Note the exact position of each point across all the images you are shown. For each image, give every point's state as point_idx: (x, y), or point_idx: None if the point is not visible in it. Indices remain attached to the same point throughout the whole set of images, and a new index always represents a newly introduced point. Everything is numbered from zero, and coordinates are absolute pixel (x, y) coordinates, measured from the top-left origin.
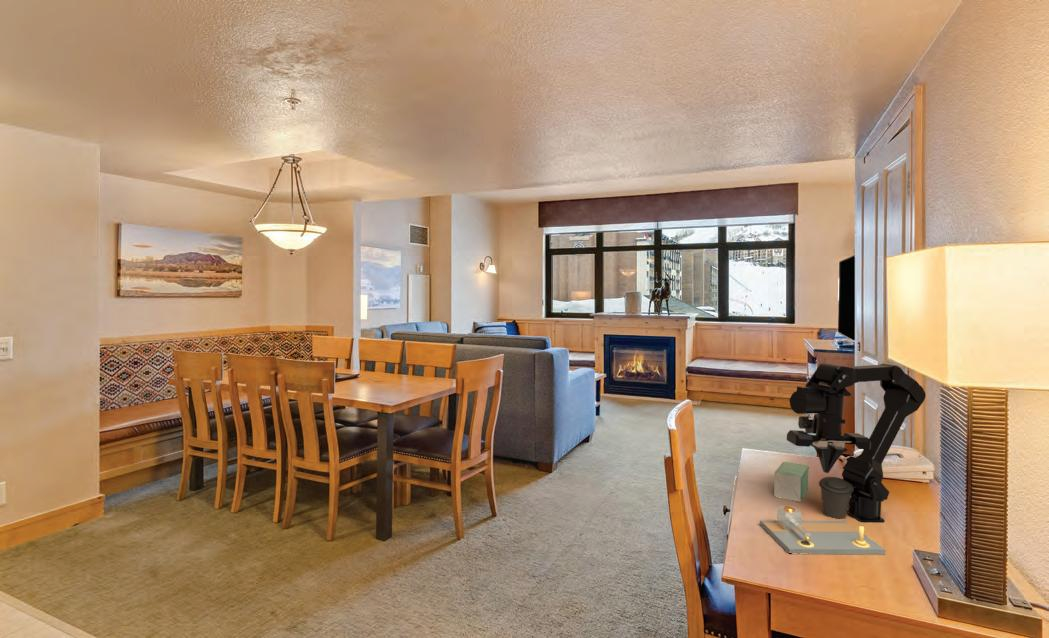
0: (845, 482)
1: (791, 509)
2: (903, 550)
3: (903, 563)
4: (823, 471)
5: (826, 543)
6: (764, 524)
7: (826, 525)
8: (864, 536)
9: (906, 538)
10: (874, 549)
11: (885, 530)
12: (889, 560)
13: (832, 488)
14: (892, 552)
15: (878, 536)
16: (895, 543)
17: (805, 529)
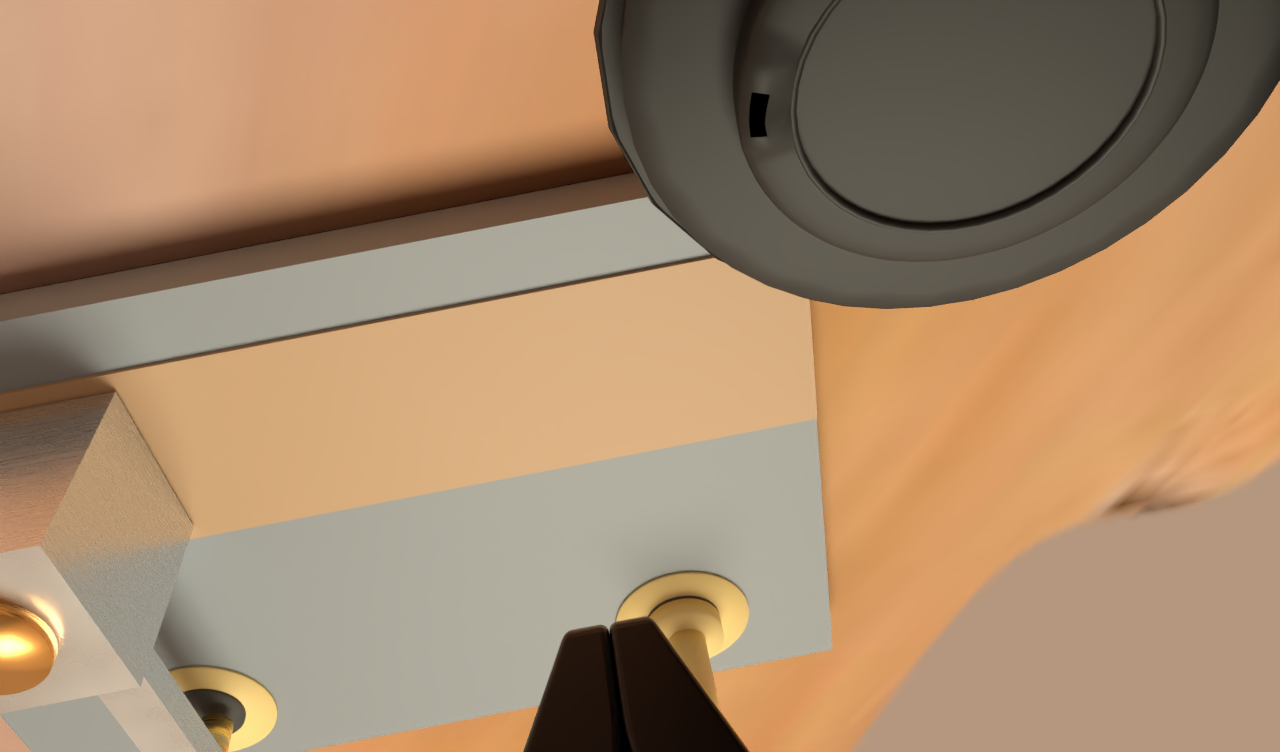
0: (1183, 80)
1: (9, 680)
2: (1020, 528)
3: (874, 686)
4: (566, 640)
5: (389, 668)
6: None
7: (508, 354)
8: (796, 491)
9: (1238, 319)
10: (747, 663)
11: None
12: (802, 674)
13: (784, 215)
14: (906, 574)
15: (992, 335)
16: (1048, 433)
17: (189, 744)
